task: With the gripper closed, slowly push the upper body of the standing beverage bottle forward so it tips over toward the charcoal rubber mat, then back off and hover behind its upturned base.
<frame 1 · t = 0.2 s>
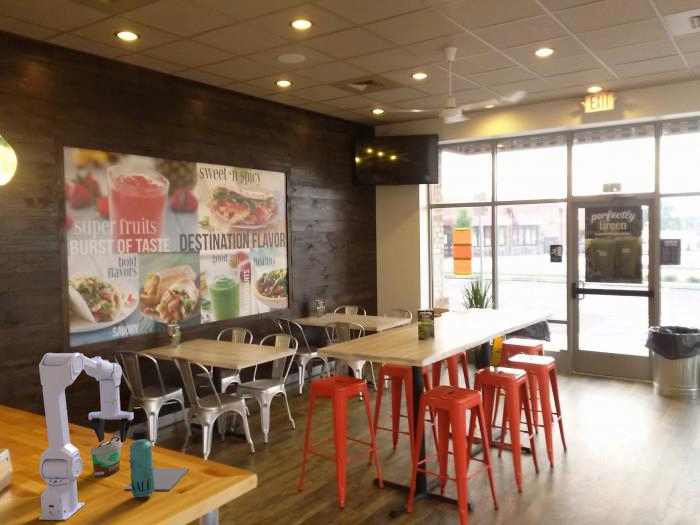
hand: (112, 441, 192), 10 cm above the table, tool pointing down, fingers open, 7 cm apart
beverage bottle: (143, 498, 173), on the table
food container: (112, 472, 193), on the table
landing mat: (158, 479, 185), on the table
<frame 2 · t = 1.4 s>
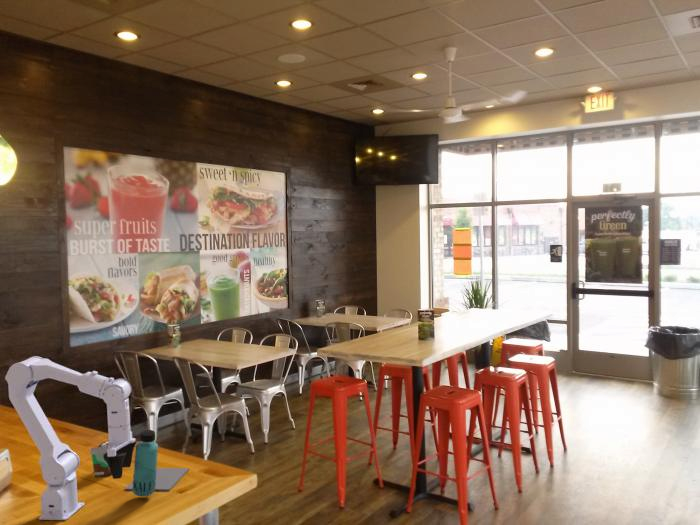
hand: (122, 472, 165), 10 cm above the table, tool pointing down, fingers open, 7 cm apart
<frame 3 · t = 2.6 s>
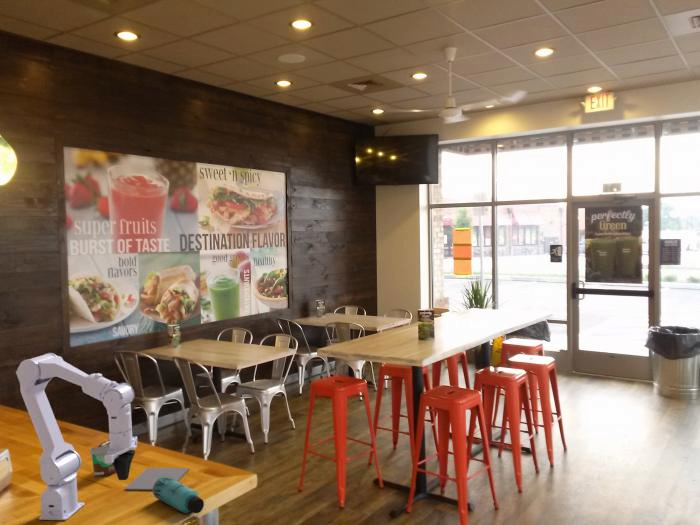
hand: (123, 479, 161), 10 cm above the table, tool pointing down, fingers closed
beverage bottle: (158, 485, 173), point 3 cm above the table
everything else where it was.
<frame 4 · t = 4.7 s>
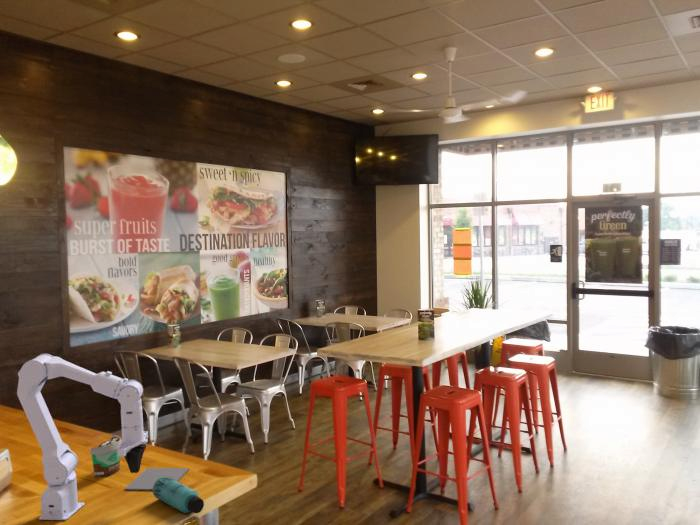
hand: (134, 471, 168), 9 cm above the table, tool pointing down, fingers closed
nothing on the table moved.
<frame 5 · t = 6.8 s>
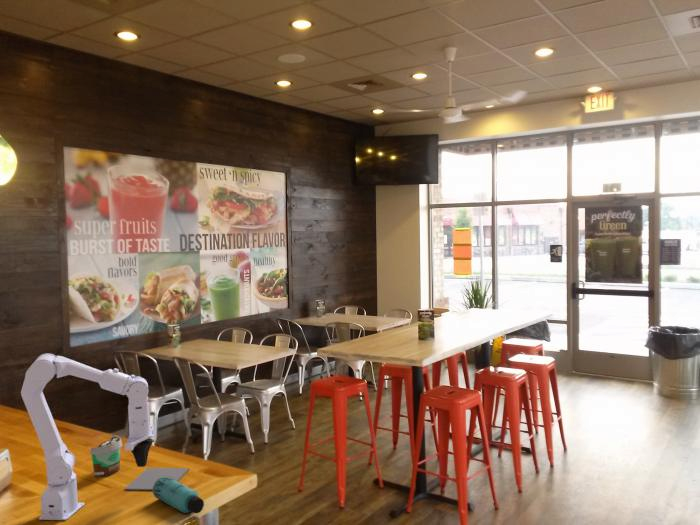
hand: (141, 465, 172), 9 cm above the table, tool pointing down, fingers closed
nothing on the table moved.
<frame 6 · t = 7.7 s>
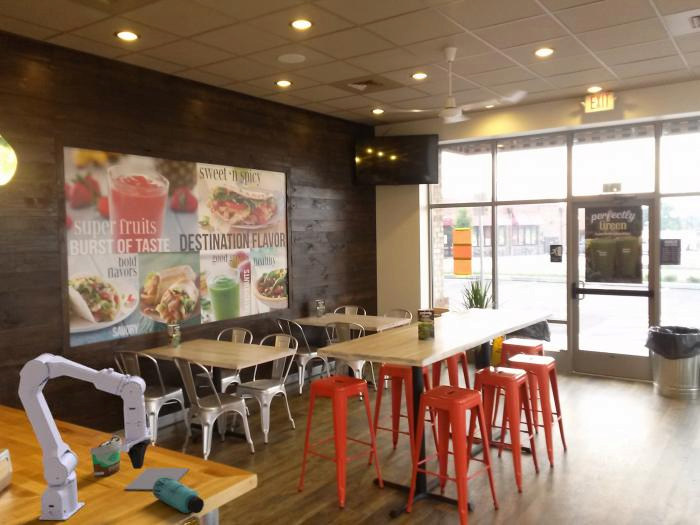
hand: (138, 467, 168), 10 cm above the table, tool pointing down, fingers closed
nothing on the table moved.
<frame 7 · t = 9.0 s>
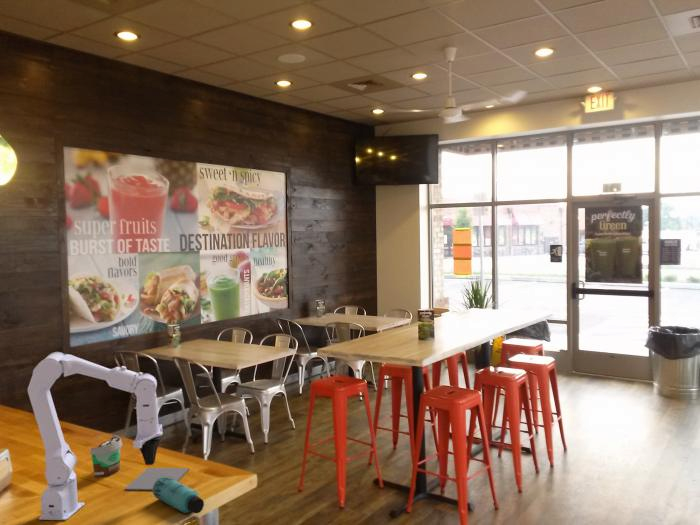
hand: (150, 463, 171), 10 cm above the table, tool pointing down, fingers closed
nothing on the table moved.
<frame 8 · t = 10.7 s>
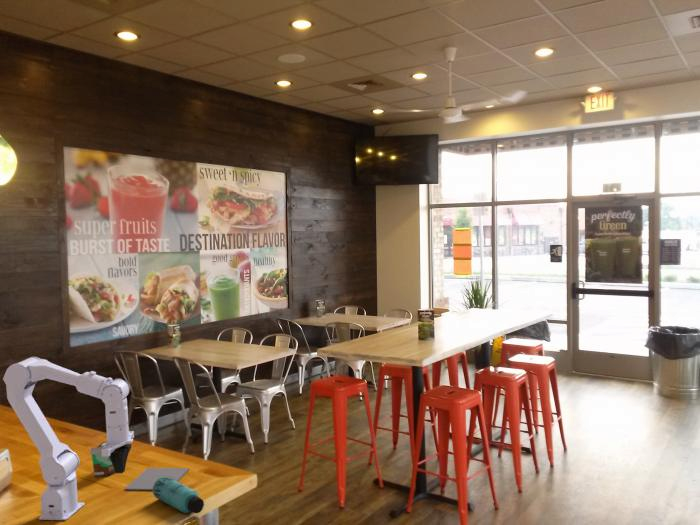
hand: (120, 472, 166), 10 cm above the table, tool pointing down, fingers closed
nothing on the table moved.
at the end: beverage bottle tilted 91°; beverage bottle inside the target area (8.1 cm from its centre), point 3.3 cm above the table; food container moved 0.3 cm from its start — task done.
